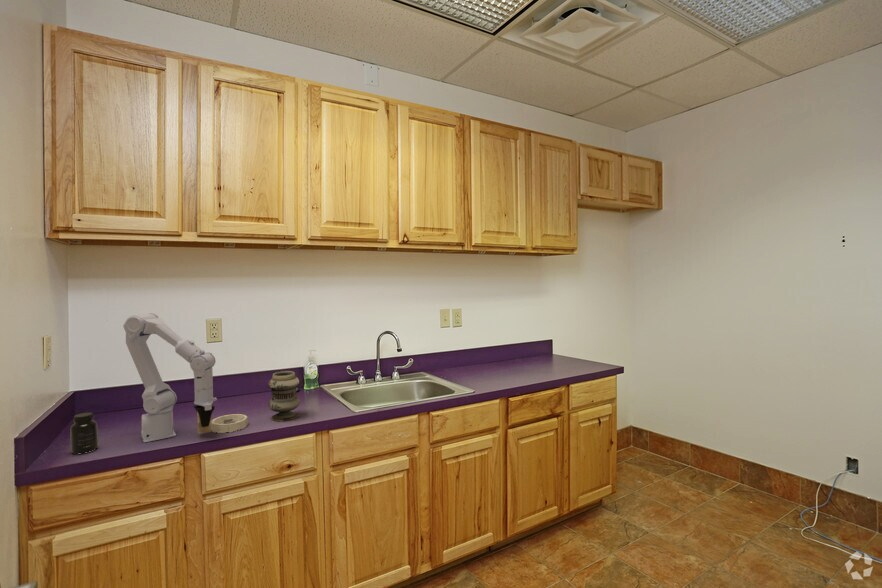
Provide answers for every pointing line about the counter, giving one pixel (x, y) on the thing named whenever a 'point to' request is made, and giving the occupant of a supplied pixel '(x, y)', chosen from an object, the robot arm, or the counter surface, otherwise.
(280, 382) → the apothecary jar
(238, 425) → the beige round dish
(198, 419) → the brown wooden block
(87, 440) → the supplement bottle
